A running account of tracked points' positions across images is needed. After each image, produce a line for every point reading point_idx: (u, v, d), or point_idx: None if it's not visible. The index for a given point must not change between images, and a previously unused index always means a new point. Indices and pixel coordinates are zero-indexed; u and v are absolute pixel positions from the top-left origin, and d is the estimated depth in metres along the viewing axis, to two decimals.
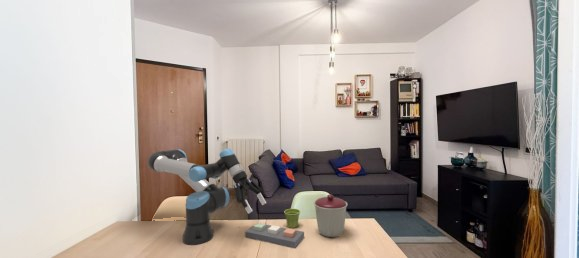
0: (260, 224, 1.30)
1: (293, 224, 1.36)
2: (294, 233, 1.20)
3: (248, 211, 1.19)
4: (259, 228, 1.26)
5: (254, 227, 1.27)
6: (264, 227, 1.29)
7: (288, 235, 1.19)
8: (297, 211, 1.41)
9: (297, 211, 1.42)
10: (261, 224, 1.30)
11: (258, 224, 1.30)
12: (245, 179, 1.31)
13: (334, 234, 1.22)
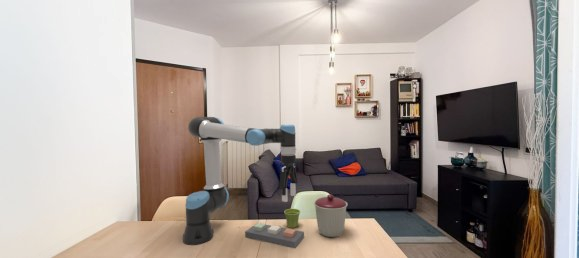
0: (260, 224, 1.30)
1: (293, 224, 1.36)
2: (294, 233, 1.20)
3: (283, 199, 1.16)
4: (259, 228, 1.26)
5: (254, 227, 1.27)
6: (264, 227, 1.29)
7: (288, 235, 1.19)
8: (297, 211, 1.41)
9: (297, 211, 1.42)
10: (261, 224, 1.30)
11: (258, 224, 1.30)
12: (292, 162, 1.22)
13: (334, 234, 1.22)
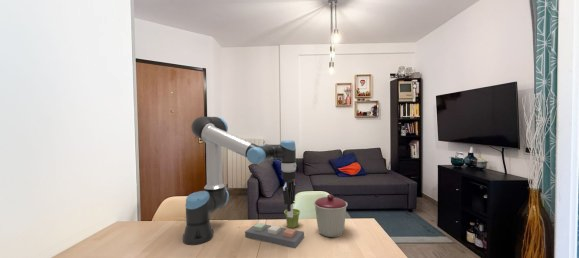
0: (260, 224, 1.30)
1: (293, 224, 1.36)
2: (294, 233, 1.20)
3: (288, 215, 1.21)
4: (259, 228, 1.26)
5: (254, 227, 1.27)
6: (264, 227, 1.29)
7: (288, 235, 1.19)
8: (297, 211, 1.41)
9: (297, 211, 1.42)
10: (261, 224, 1.30)
11: (258, 224, 1.30)
12: None
13: (334, 234, 1.22)
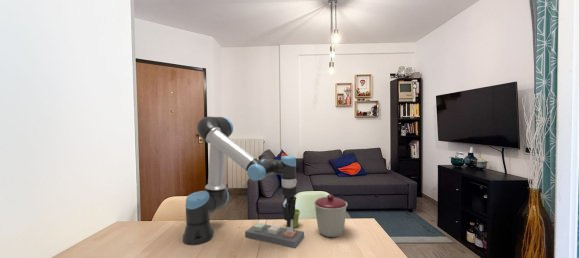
0: (260, 224, 1.30)
1: (293, 224, 1.36)
2: (294, 235, 1.20)
3: (288, 230, 1.21)
4: (259, 228, 1.26)
5: (254, 227, 1.27)
6: (264, 227, 1.29)
7: None
8: (297, 211, 1.41)
9: (297, 211, 1.42)
10: (261, 224, 1.30)
11: (258, 224, 1.30)
12: None
13: (334, 234, 1.22)
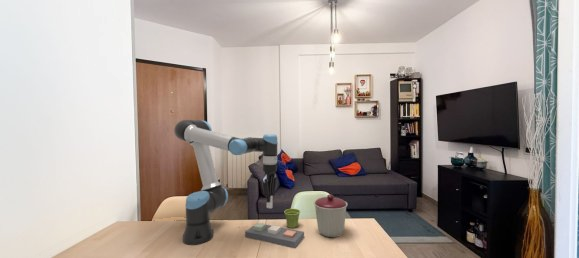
0: (260, 224, 1.30)
1: (293, 224, 1.36)
2: (294, 235, 1.20)
3: (268, 206, 1.25)
4: (259, 228, 1.26)
5: (254, 227, 1.27)
6: (264, 227, 1.29)
7: None
8: (297, 211, 1.41)
9: (297, 211, 1.42)
10: (261, 224, 1.30)
11: (258, 224, 1.30)
12: None
13: (334, 234, 1.22)
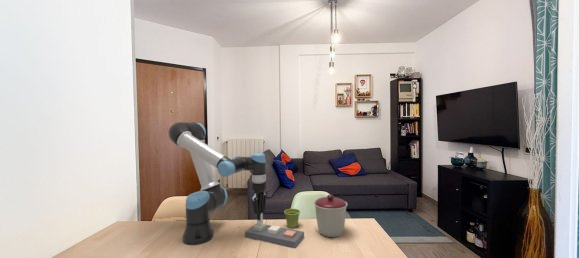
0: None
1: (293, 224, 1.36)
2: (294, 235, 1.20)
3: (258, 223, 1.28)
4: (259, 228, 1.26)
5: (254, 228, 1.27)
6: (264, 227, 1.29)
7: None
8: (297, 211, 1.41)
9: (297, 211, 1.42)
10: None
11: None
12: None
13: (334, 234, 1.22)
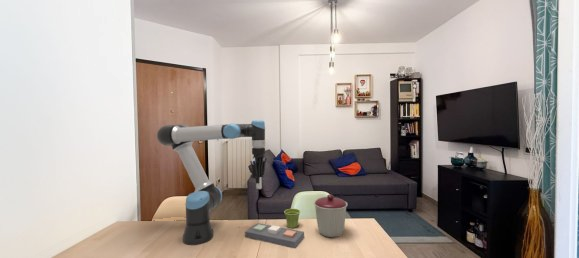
0: (260, 226, 1.30)
1: (293, 224, 1.36)
2: (294, 235, 1.20)
3: (257, 187, 1.35)
4: (259, 230, 1.26)
5: (254, 229, 1.27)
6: None
7: None
8: (297, 211, 1.41)
9: (297, 211, 1.42)
10: (261, 226, 1.30)
11: (258, 226, 1.30)
12: (262, 154, 1.37)
13: (334, 234, 1.22)
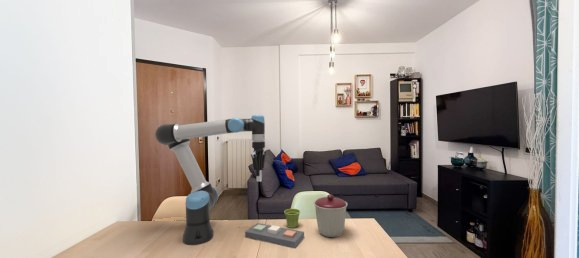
0: (260, 226, 1.30)
1: (293, 224, 1.36)
2: (294, 235, 1.20)
3: (257, 179, 1.39)
4: (259, 230, 1.26)
5: (254, 229, 1.27)
6: None
7: None
8: (297, 211, 1.41)
9: (297, 211, 1.42)
10: (261, 226, 1.30)
11: (258, 226, 1.30)
12: (262, 147, 1.42)
13: (334, 234, 1.22)
